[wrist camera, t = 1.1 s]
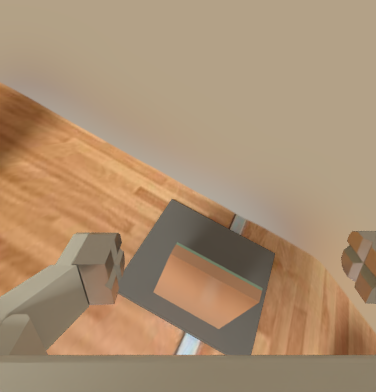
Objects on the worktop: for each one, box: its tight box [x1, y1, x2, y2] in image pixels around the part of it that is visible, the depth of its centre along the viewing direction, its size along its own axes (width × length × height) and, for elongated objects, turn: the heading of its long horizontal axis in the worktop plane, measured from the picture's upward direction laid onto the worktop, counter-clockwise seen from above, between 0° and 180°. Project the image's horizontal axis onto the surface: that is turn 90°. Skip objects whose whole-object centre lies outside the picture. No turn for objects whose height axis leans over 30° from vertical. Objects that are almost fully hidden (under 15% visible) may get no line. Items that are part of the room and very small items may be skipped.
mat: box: [118, 199, 275, 355], centre depth 40 cm, size 20×18×1 cm
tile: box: [153, 242, 263, 329], centre depth 32 cm, size 10×2×12 cm, turn 66°
